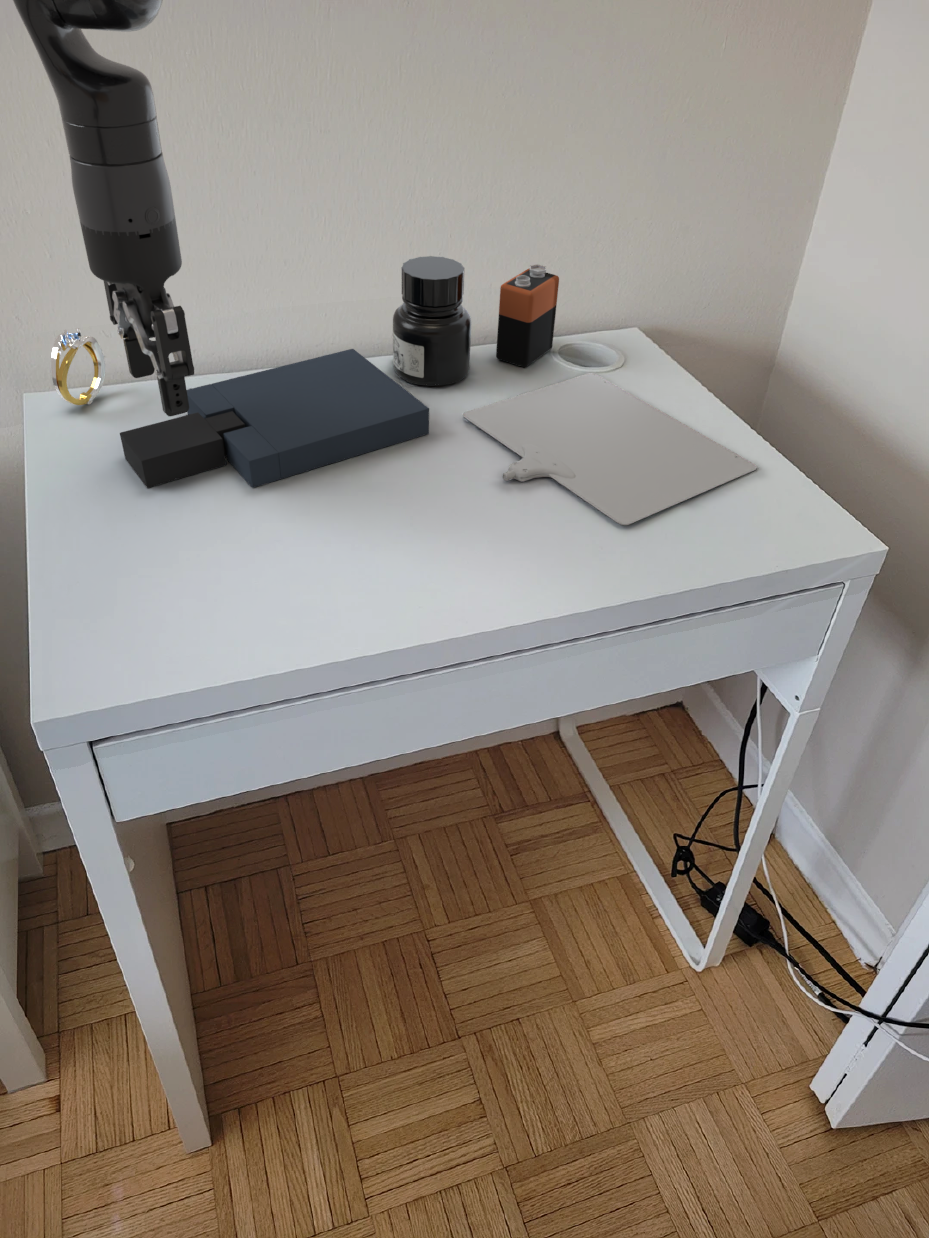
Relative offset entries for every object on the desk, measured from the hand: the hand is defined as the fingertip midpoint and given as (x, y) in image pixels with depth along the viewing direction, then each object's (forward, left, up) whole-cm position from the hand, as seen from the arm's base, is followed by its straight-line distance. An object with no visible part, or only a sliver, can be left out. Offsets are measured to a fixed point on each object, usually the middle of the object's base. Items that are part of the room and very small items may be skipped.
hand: (159, 393), depth 88 cm
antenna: (+38, -19, -8) cm, 43 cm away
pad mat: (+15, 0, -8) cm, 17 cm away
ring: (-3, +16, -8) cm, 18 cm away
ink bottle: (+33, +4, -8) cm, 34 cm away
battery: (+45, +2, -8) cm, 45 cm away
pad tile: (+2, 0, -7) cm, 8 cm away
